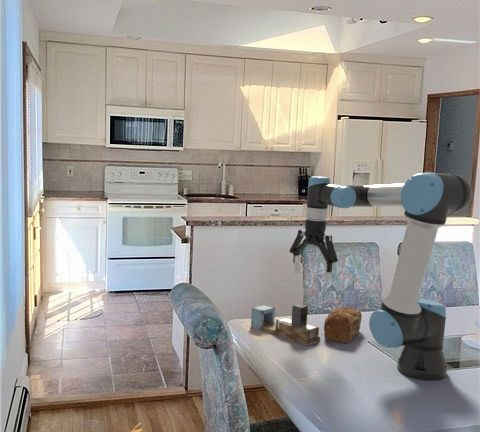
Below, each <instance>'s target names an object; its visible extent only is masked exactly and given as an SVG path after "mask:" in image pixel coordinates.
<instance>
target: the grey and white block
mask: <svg viewBox="0 0 480 432" xmlns="http://www.w3.org/2000/svg"><path fill="white" fill-rule="evenodd" d="M308 308H309V306H308V305H305V304H302V303H295V304H292V308H291V318H288V317H287V318H286V317H283V316H282V317H279V318H278V317H277V318H275V323H276V324H275V328H276V329H279V322H284V323H287V324H290V325H293V326H297V327H300V328H303V329H306V330H310V331H309V339H311V338H314V337H316V329H317V327H318V326H316V327H314V326H315V325H313V326H310V325H311V324H309V325H307V324H308ZM290 319H292V320H290Z"/></svg>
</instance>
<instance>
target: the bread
mask: <svg viewBox="0 0 480 432" xmlns="http://www.w3.org/2000/svg"><path fill="white" fill-rule="evenodd" d="M361 324H362V311H360V310H359V309H354V308H351V307H345V306H343V307H340V308H336V309H333V310H332V311H331V312H330V313H328V314H327V317H326V318H325V319H324V324H323V325H324V326H323V331H324V333H323V334H324V339H326V340H327V341H331V342H337V343H342V344H349V343H351V341H353V340H352V339H354V338H355V337H356V336H357V334H358V333H359V332H360V329H361ZM358 331H359V332H358Z"/></svg>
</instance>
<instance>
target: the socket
mask: <svg viewBox="0 0 480 432" xmlns="http://www.w3.org/2000/svg"><path fill="white" fill-rule="evenodd" d="M275 313H276V307H275V306H271V305H268V304H262V305H259V306H255V307H252V308H251V316H250V317H251V320H250V321H251V322H250V328H254V329H256V330H260V331H262V330H261V326H263V321H267V322H270V323H274V322H275V315H276V314H275Z"/></svg>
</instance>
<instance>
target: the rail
mask: <svg viewBox="0 0 480 432" xmlns="http://www.w3.org/2000/svg"><path fill="white" fill-rule="evenodd" d="M289 319H290V320H292V318H289ZM275 324H276V321H274V323H270V322H267V321H263V326H261V330H260V331H262V332H266V333H268V334H271V335H274V336H277V337H281V338H284V339H287V340H290V341H292V342H296V343H298V344H302V345H305V346H309V345H312V344H314V343H317V341H318V342H320V341H321V336H319V333H320V332H319V331H320V327H319V326H316V325H312V324H309V323H307V325H310V326H314V327H317V329H316V337H314V338H311V339H309V331H310V330H306V329H303V328H300V327H297V326H293V325H290V324H287V323H284V322H279V329H276V328H275Z"/></svg>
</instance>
